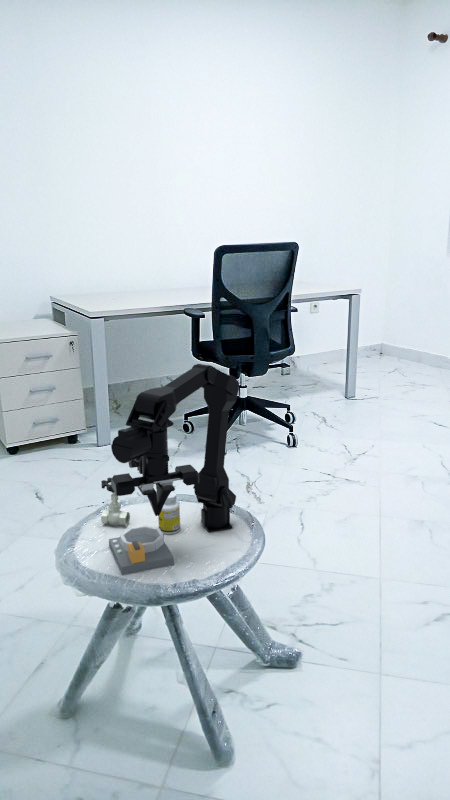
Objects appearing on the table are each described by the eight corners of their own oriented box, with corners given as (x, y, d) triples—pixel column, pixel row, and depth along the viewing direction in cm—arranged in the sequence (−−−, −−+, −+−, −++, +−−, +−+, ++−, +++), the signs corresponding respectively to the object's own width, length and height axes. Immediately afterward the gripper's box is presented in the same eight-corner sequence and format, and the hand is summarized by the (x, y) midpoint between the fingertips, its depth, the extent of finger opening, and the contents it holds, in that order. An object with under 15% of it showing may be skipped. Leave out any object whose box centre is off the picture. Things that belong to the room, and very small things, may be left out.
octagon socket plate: (157, 538, 156) (156, 523, 155) (174, 565, 143) (173, 549, 142) (109, 546, 152) (108, 531, 150) (121, 575, 139) (121, 558, 138)
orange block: (141, 553, 144) (140, 539, 143) (145, 561, 141) (144, 546, 140) (128, 556, 143) (127, 541, 142) (131, 563, 140) (131, 549, 139)
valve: (123, 531, 159) (121, 487, 156) (99, 529, 160) (96, 485, 157) (132, 520, 165) (130, 477, 162) (108, 518, 167) (106, 475, 163)
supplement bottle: (159, 525, 162) (158, 490, 160) (180, 525, 163) (179, 489, 160) (158, 535, 157) (157, 499, 155) (180, 534, 157) (179, 498, 155)
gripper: (183, 433, 148) (185, 495, 152) (104, 443, 141) (108, 507, 145) (199, 448, 138) (200, 513, 142) (115, 459, 131) (118, 528, 135)
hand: (156, 515), depth 141 cm, fingers closed
